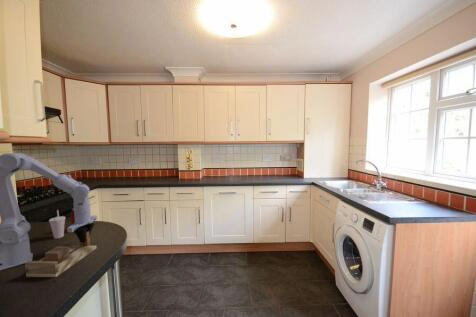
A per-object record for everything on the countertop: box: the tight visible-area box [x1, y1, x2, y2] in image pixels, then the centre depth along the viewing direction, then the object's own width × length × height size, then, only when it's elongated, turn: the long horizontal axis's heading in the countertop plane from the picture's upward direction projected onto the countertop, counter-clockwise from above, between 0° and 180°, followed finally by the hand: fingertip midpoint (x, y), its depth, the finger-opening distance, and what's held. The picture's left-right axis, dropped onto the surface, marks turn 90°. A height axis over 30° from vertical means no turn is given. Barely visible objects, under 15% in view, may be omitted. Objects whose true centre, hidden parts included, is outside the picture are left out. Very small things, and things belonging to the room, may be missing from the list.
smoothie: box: [48, 209, 66, 239], centre depth 105 cm, size 6×6×14 cm
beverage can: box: [70, 207, 75, 225], centre depth 114 cm, size 7×7×12 cm
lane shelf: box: [24, 245, 98, 278], centre depth 83 cm, size 20×11×5 cm, turn 178°
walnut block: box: [44, 232, 91, 264], centre depth 86 cm, size 17×5×6 cm, turn 178°
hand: (84, 240), depth 93 cm, fingers closed on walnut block, 2 cm apart
